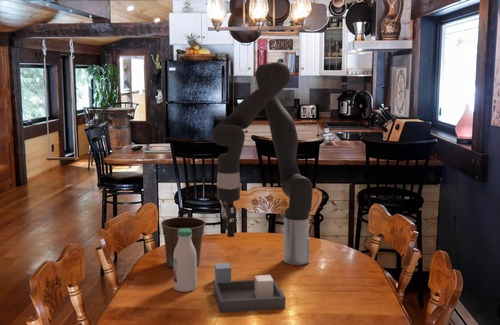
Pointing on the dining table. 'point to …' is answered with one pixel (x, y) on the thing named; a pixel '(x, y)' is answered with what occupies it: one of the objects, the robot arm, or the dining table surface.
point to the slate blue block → (222, 272)
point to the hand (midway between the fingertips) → (228, 233)
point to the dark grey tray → (245, 297)
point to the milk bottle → (184, 262)
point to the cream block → (263, 286)
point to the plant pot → (171, 235)
